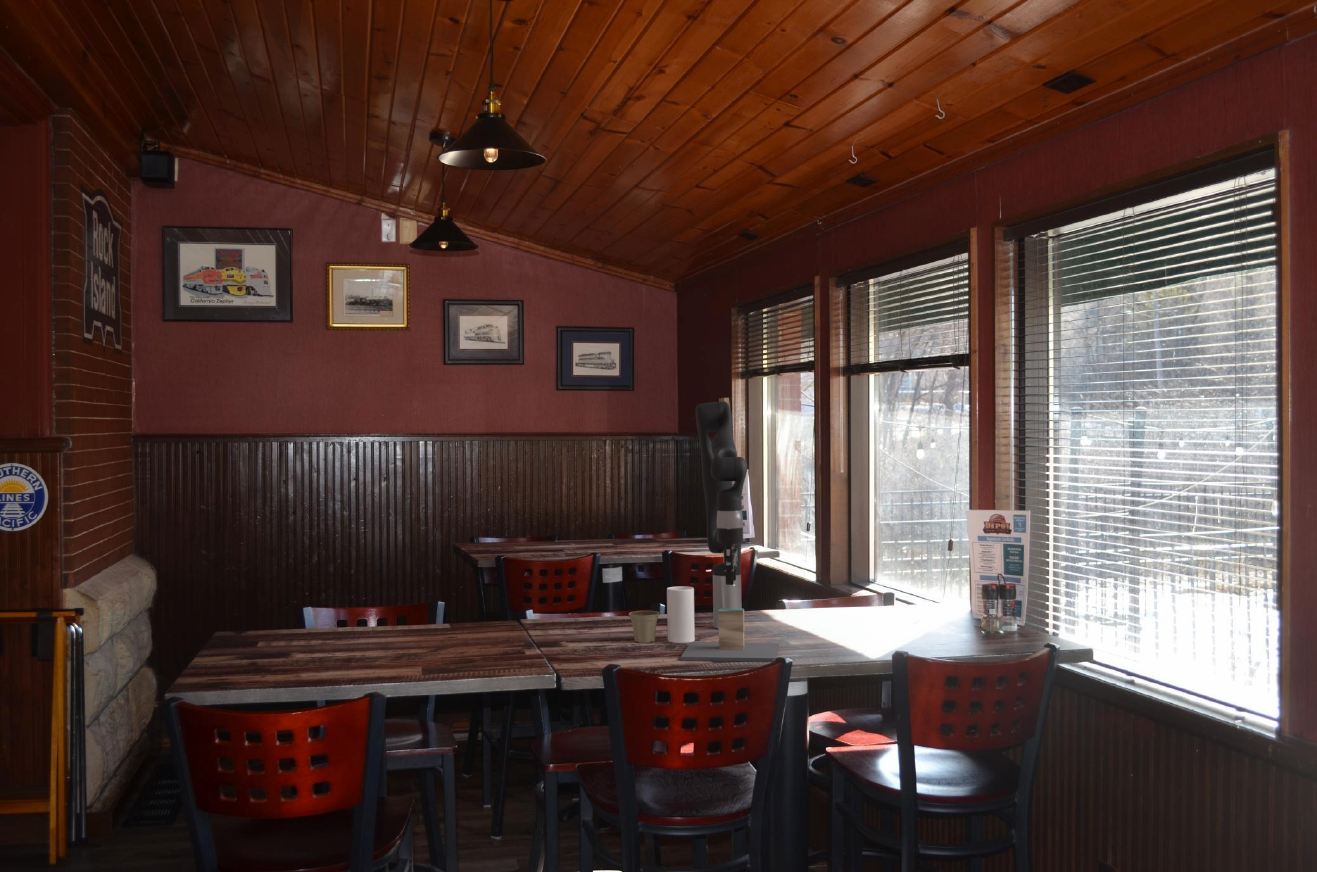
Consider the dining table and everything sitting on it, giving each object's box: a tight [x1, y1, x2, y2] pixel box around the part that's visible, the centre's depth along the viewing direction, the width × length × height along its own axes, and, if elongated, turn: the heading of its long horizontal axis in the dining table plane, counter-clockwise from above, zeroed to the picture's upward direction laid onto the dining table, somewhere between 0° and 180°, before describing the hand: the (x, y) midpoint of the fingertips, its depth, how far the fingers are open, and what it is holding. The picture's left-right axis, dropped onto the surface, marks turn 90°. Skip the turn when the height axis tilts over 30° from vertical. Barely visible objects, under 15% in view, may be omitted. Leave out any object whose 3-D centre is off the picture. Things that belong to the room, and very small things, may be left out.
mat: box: [680, 641, 780, 663], centre depth 306 cm, size 22×26×1 cm
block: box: [718, 608, 746, 649], centre depth 309 cm, size 4×7×11 cm, turn 81°
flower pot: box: [628, 610, 660, 644], centre depth 328 cm, size 9×9×9 cm
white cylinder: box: [666, 585, 696, 644], centre depth 328 cm, size 8×8×16 cm
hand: (730, 582), depth 309 cm, fingers open, 7 cm apart
